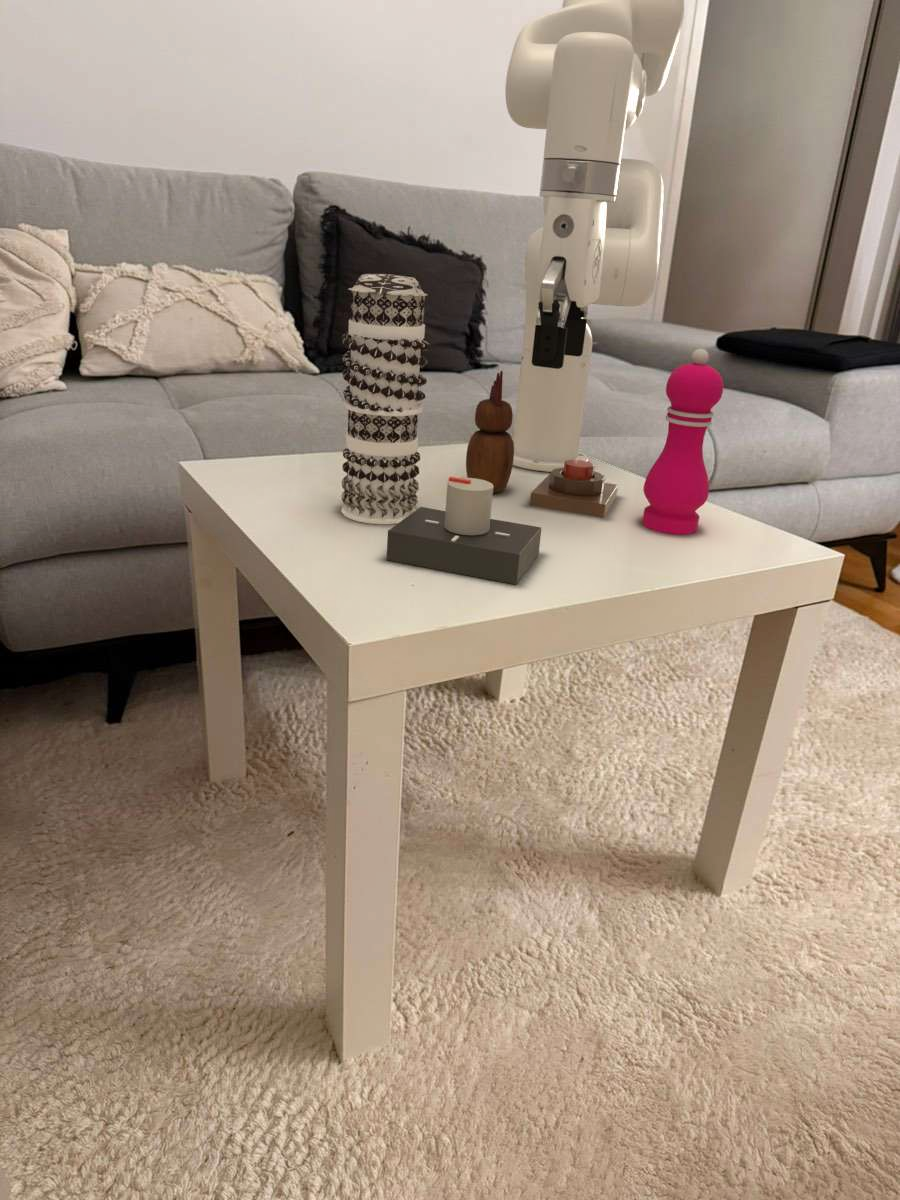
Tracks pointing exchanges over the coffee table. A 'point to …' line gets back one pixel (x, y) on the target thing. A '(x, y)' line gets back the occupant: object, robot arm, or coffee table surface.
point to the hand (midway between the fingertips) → (557, 360)
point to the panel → (464, 547)
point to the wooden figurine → (492, 440)
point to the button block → (574, 494)
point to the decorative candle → (383, 398)
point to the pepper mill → (683, 449)
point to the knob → (468, 506)
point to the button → (578, 469)
